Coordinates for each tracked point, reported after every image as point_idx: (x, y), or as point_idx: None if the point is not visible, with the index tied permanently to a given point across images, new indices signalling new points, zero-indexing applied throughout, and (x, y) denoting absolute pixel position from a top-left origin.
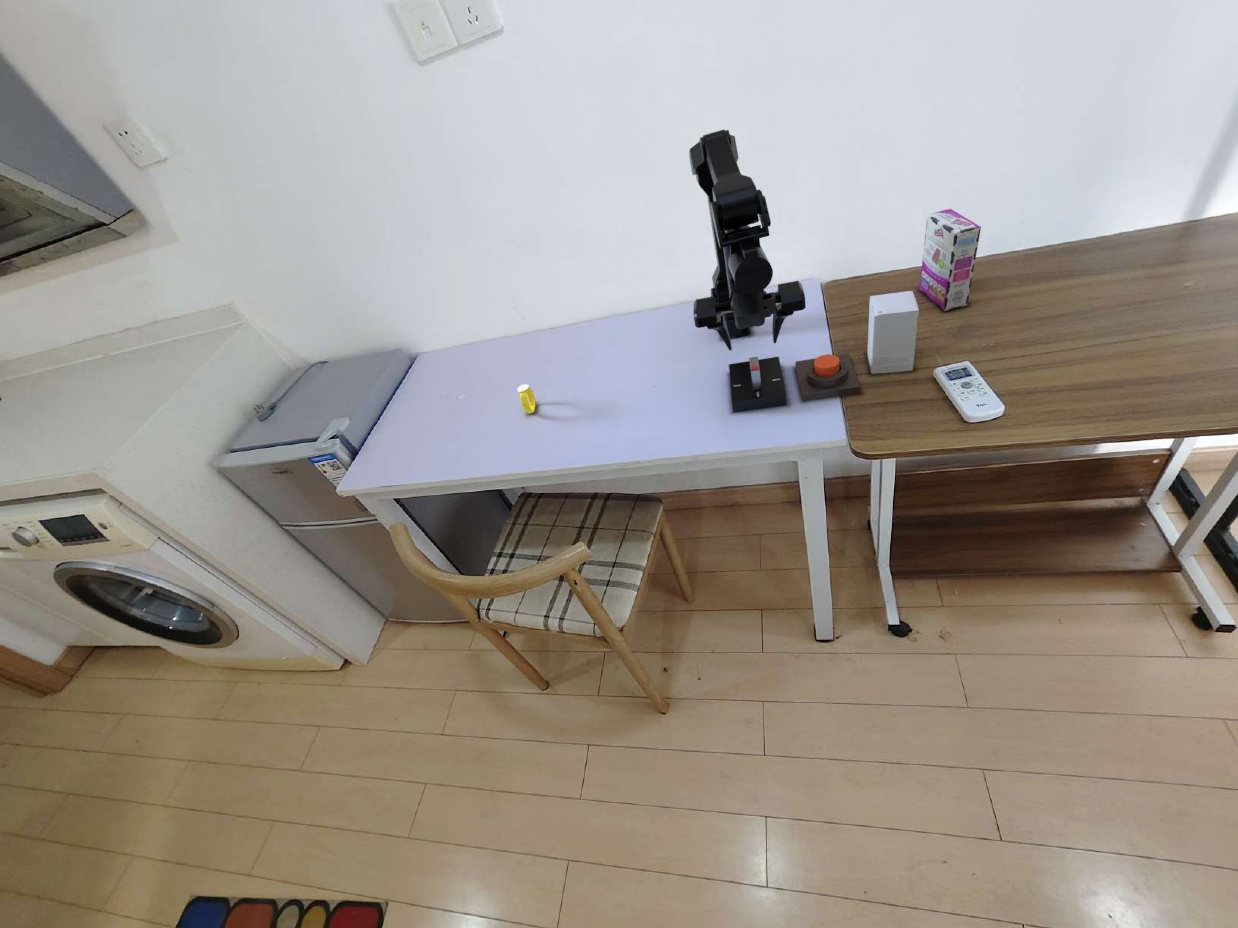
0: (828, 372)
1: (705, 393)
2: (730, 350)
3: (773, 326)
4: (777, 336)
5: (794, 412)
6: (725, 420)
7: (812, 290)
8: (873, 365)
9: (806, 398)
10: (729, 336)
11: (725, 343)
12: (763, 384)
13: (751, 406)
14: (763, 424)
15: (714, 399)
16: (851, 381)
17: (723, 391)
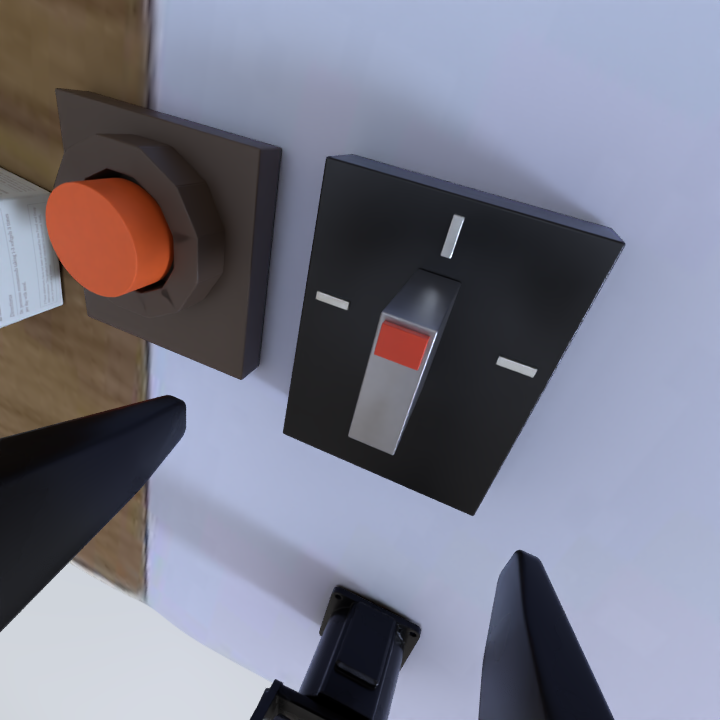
0: (107, 181)
1: (645, 443)
2: (530, 554)
3: (44, 521)
4: (97, 416)
5: (337, 79)
6: (695, 183)
7: (163, 597)
8: (11, 194)
9: (261, 145)
10: (484, 706)
11: (589, 669)
12: None
13: (512, 203)
14: (516, 36)
15: (634, 381)
16: (80, 141)
17: (561, 407)
